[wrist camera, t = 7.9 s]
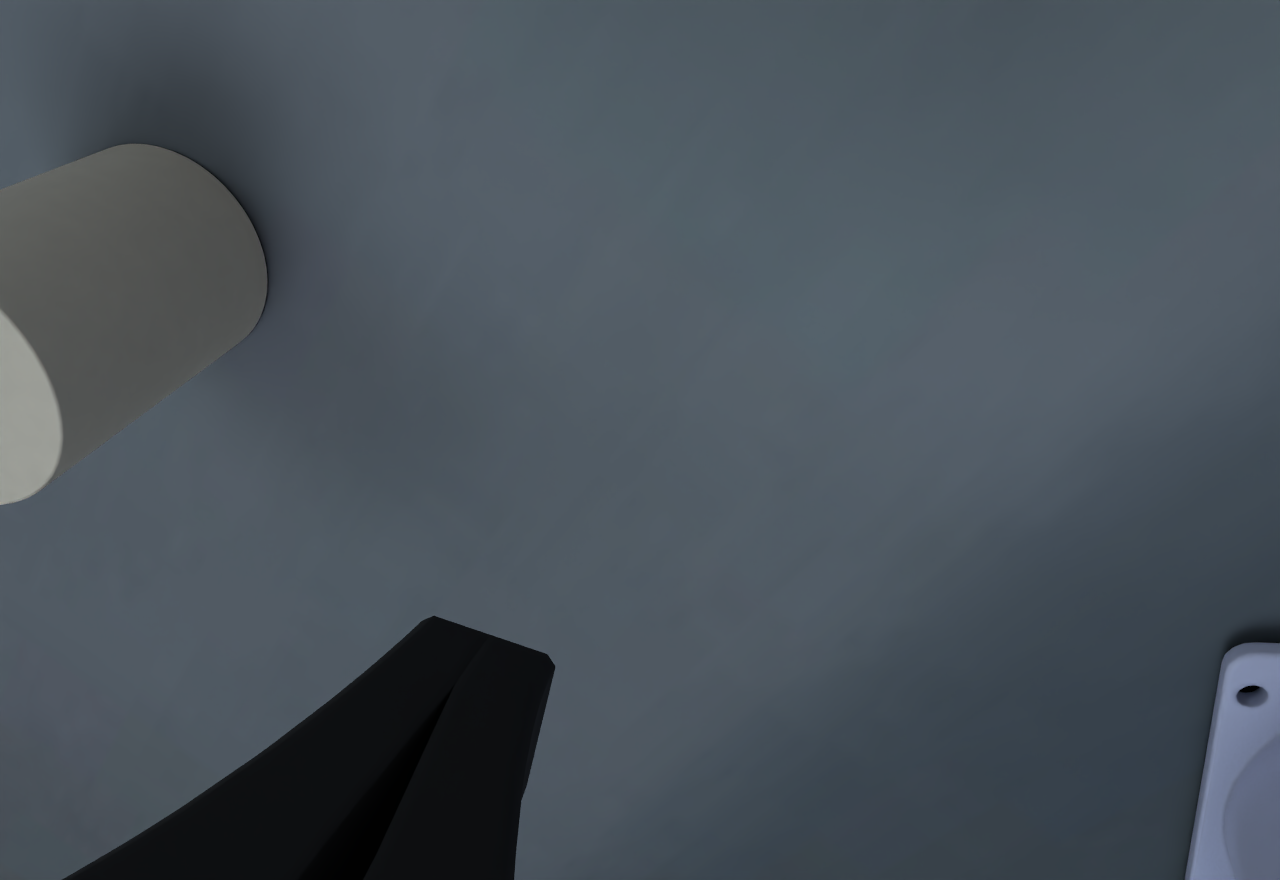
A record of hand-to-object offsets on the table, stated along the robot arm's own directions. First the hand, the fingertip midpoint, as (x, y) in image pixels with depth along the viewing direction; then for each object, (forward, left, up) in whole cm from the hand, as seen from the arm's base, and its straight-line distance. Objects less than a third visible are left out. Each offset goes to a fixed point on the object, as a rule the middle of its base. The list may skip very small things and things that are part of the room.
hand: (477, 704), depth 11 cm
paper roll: (+3, +8, -7) cm, 11 cm away
